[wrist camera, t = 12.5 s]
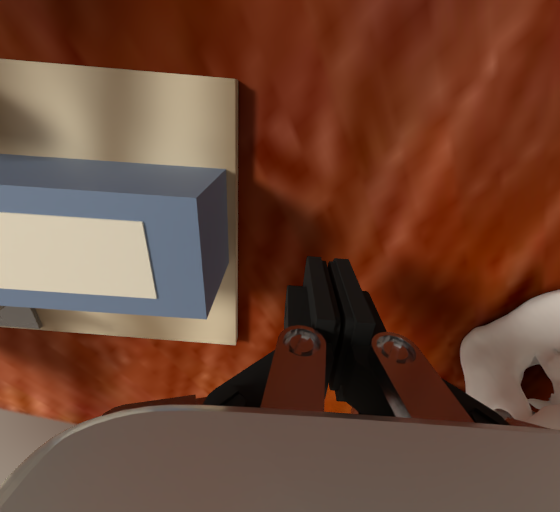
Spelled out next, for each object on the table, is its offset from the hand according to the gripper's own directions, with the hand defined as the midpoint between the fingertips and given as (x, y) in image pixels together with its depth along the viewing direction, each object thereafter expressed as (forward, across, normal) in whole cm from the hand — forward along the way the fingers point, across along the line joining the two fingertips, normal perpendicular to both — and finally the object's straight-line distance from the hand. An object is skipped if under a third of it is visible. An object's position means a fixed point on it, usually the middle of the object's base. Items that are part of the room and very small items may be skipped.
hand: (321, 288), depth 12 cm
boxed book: (+5, +11, -1) cm, 12 cm away
